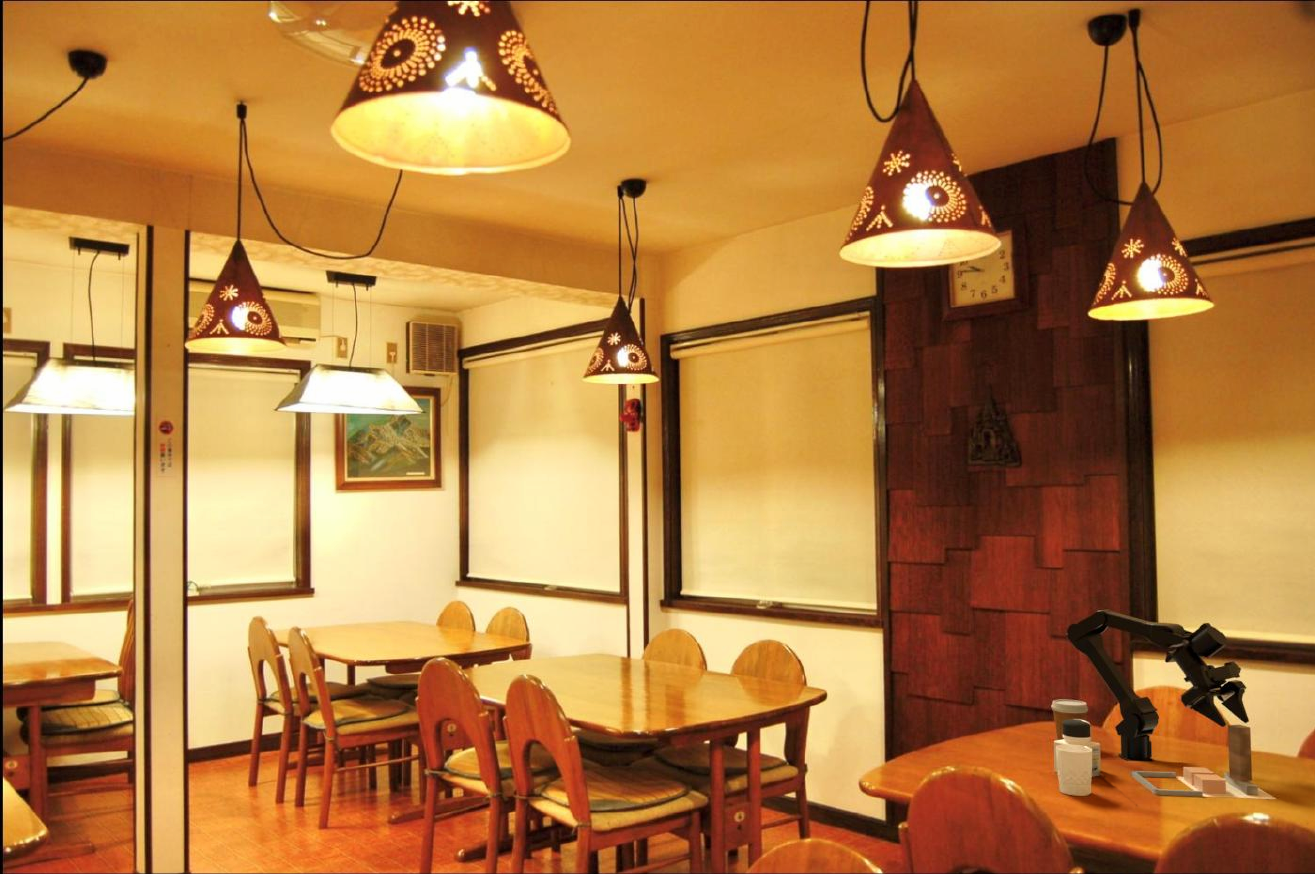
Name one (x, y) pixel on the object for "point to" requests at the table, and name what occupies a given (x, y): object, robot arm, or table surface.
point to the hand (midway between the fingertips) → (1236, 724)
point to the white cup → (1074, 769)
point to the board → (1231, 792)
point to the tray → (1139, 776)
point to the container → (1079, 741)
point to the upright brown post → (1240, 760)
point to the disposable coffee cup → (1067, 713)
